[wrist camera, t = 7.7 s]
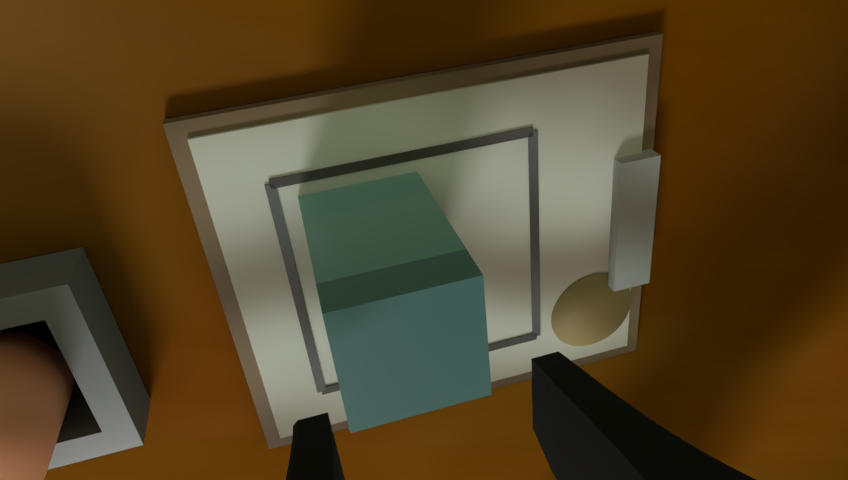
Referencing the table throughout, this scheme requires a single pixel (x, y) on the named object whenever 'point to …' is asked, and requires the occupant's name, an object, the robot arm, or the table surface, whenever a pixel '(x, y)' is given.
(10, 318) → the button housing
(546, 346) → the clipboard with paper sheet
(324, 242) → the teal banded box
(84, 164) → the table surface
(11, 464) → the button
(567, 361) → the robot arm
